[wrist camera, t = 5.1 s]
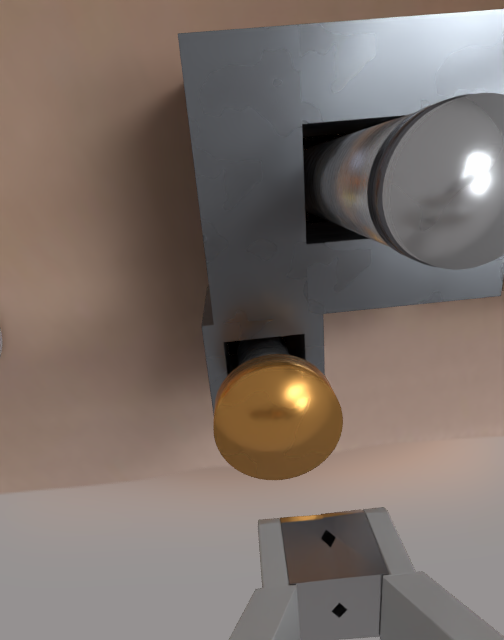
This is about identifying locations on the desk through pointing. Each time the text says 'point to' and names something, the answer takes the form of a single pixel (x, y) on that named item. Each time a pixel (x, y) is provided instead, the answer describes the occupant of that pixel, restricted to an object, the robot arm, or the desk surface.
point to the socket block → (288, 169)
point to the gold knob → (275, 413)
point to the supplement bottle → (0, 342)
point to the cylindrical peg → (419, 182)
